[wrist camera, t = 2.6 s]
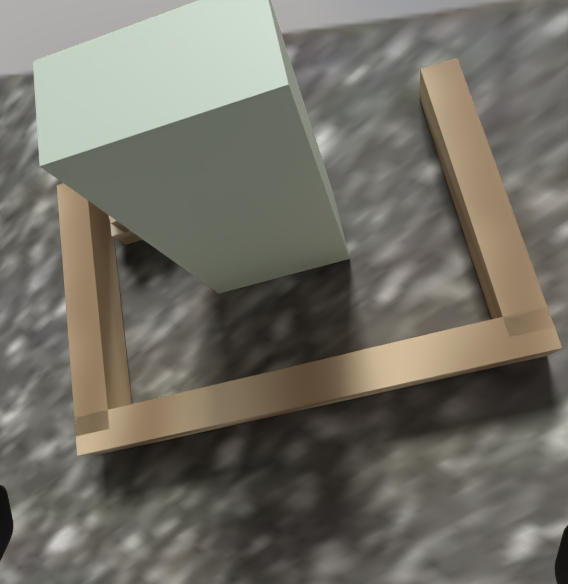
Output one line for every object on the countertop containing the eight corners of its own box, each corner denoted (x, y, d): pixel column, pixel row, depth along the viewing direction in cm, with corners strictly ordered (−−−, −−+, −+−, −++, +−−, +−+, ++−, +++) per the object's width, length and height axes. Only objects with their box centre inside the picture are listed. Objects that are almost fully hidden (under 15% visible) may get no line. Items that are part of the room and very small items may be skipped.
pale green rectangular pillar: (219, 293, 23) (39, 166, 12) (208, 232, 24) (32, 61, 13) (349, 258, 22) (288, 84, 11) (334, 196, 23) (262, -24, 12)
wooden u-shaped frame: (105, 453, 23) (77, 455, 21) (82, 203, 26) (56, 185, 24) (547, 355, 20) (562, 348, 18) (453, 87, 23) (457, 57, 21)
